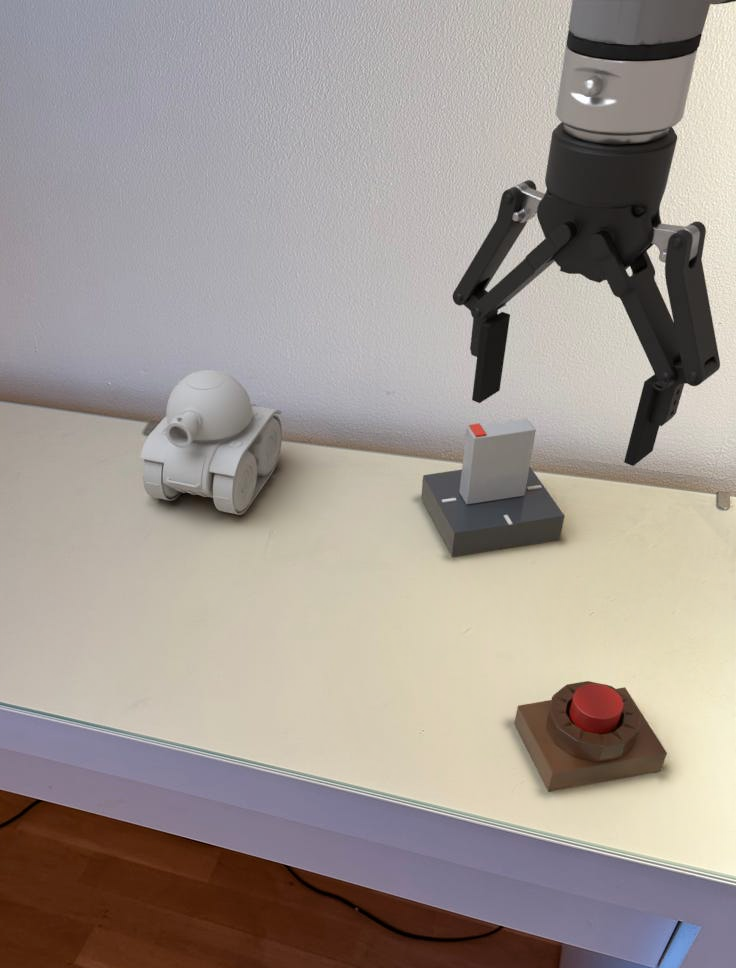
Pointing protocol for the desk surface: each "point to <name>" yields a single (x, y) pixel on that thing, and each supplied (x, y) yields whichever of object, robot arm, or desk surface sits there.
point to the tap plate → (490, 516)
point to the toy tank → (212, 443)
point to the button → (596, 708)
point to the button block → (586, 742)
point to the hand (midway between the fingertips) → (558, 425)
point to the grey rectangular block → (496, 460)
